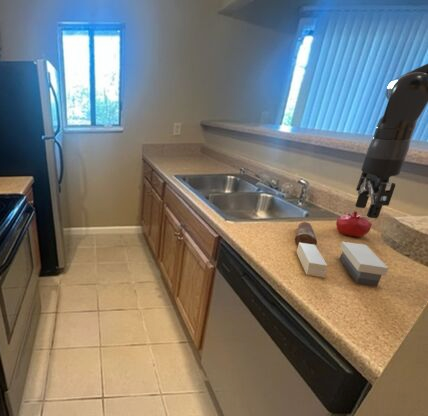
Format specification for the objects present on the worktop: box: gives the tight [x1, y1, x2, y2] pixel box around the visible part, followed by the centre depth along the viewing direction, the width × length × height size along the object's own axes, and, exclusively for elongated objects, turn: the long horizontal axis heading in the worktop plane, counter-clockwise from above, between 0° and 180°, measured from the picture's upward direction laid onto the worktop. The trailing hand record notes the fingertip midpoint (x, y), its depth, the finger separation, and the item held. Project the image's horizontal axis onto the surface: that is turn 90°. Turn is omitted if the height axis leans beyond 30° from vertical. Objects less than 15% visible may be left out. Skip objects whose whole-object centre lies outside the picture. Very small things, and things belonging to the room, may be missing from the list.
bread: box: [294, 221, 318, 246], centre depth 103 cm, size 6×19×6 cm, turn 143°
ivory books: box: [296, 243, 328, 279], centre depth 87 cm, size 4×14×4 cm, turn 157°
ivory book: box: [339, 241, 389, 276], centre depth 81 cm, size 6×14×2 cm, turn 157°
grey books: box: [339, 251, 383, 288], centre depth 83 cm, size 4×14×4 cm, turn 157°
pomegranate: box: [335, 210, 373, 238], centre depth 105 cm, size 10×10×9 cm
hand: (365, 212), depth 79 cm, fingers open, 8 cm apart
